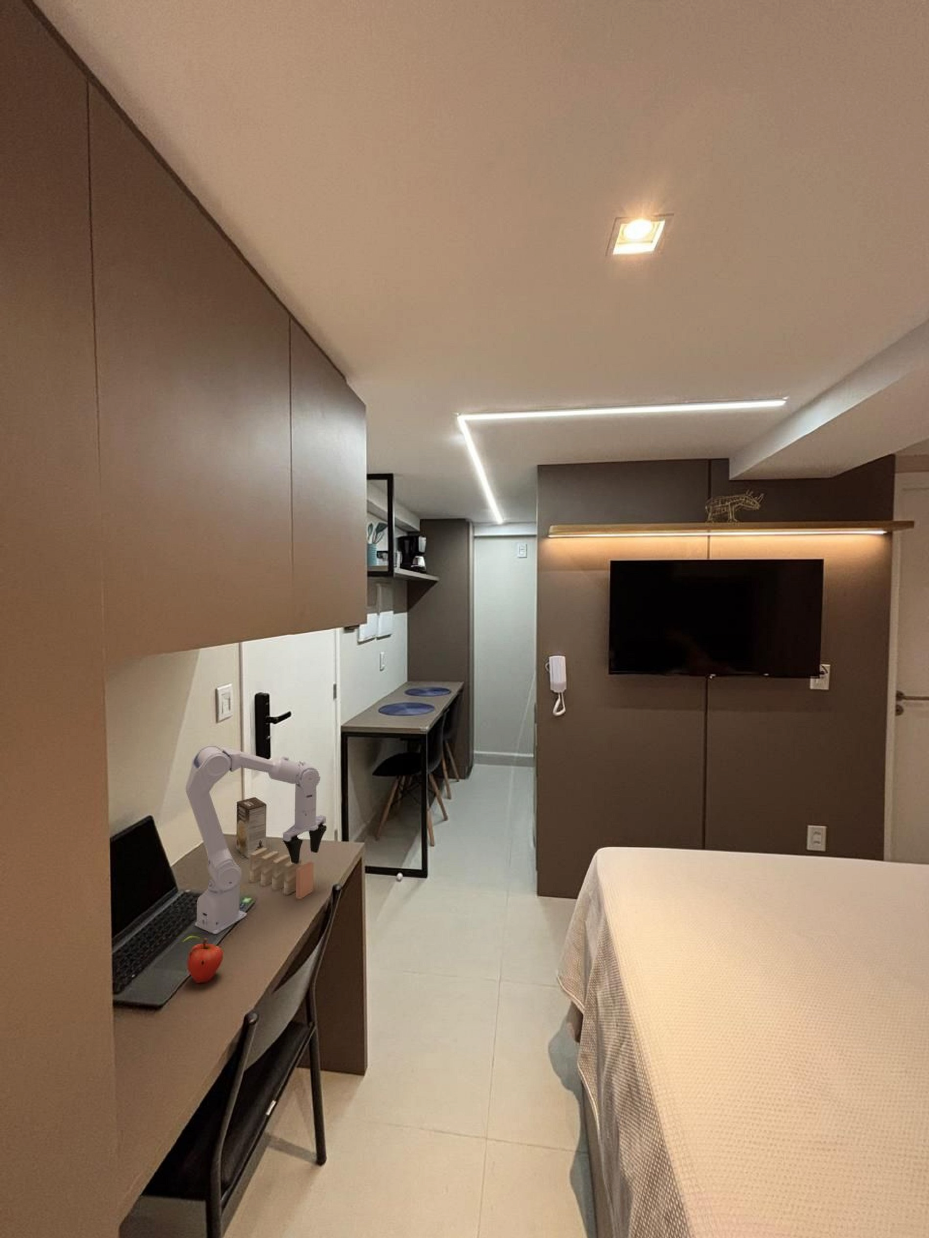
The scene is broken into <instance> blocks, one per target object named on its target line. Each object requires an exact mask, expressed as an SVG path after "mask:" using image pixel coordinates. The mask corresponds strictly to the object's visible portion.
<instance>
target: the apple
mask: <svg viewBox="0 0 929 1238" xmlns="http://www.w3.org/2000/svg"><path fill="white" fill-rule="evenodd" d="M192 938H195V939H198V940H199V941H201V942H202V943H198V944H195V945H193V947H191V950H190V951H189V954H188V958H187V963H186V965H187V966H186V967H187V971H188V973H189V974H190V976H191V977H192V979H193V981H194V982H195V983H197V984H201V983H207V982H210V980H211V979H212V978H213V976H215V973H216V972H217V971H218V969H219V968H220V967H221V965H222V961H223V957H224V955H223V954H224V953H223V950H222V948H221V946H218V945H216V944H211V943H208V942H207V941H208V938H203V939H202V938H200V937H199V936H195V935H189V936H187V937H186V938H185V939H184V940H182V941H181V943H182V942H185V941H187V940H188V939H189V940H190V939H192Z"/></svg>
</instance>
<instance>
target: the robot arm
mask: <svg viewBox="0 0 929 1238" xmlns="http://www.w3.org/2000/svg"><path fill="white" fill-rule="evenodd" d="M221 749H222V750H221ZM289 758H290V757H287V756H285V755H283V756H282V757H276V758H274V759H272V760H270V759H267V758H265V757H261V756H258V755H255V754H251V753H248V752H245V751H241V750H237V749H235V748H234V749H233V748H229V747H225V746H221V747H220V748H219V746H216V745H212V744H209V745H205V746H203V747H202V748H200V750H199V751H198V752H197V753H196V754H195V756H194V757H193V758H192V760H191V767H190V771H189V775H188V778H187V782H186V785H185V793H186V795H187V798H188V801H189V804H190V807H191V811H192V813H193V815H194V819H195V821H196V824H197V828H198V830H199V833H200V836H201V838H202V839H201V840H202V842H203V845H204V849H205V850H206V856H207V859H208V860H207V867H206V868H207V872H208V874H209V875H210V877H211V878H210V880H209V883H208V887H207V889H206V890H205V891H204V893H202V894H201V895H200V896H198V898H197V902H196V922H194V926H195V927H197V928H200V929H202V930H204V931H207V932H209V933H211V934H213V935H217V934H219V933H220V932H222V931H224V930H225V929H227V928H229V927H230V926H232V925H234V924H235V923H237V922H238V921H240V920H242V919H243V918H245V917H247V915H248V914H247V912H244V911H241V910H240V881H241V880H242V877H243V873H242V872H243V871H242V869H241V868H240V866H238V864H237V863H236V861H235V860H234V857H233V856H232V854H231V852H230V849H229V848H228V844H227V841H226V838H225V834H224V832H223V829H222V826H221V824H220V820H219V817H218V815H217V811H216V808H215V805H214V803H213V800H212V796H211V794H210V791H211V790H212V789H213V787H214V786H215V785H216V783H218V782H219V781H220V780H221V779H223V778H224V776H226V774H228V773H229V772H231V773H233V772H235V771H237V770H238V769H240V768H243V769H247V770H248V769H249V770H253V771H258V772H262V773H267V774H268V776H269V779H272V780H275V781H278V782H283V783H287V784H292V785H294V786H295V788H294V824H293V825H292V826H290V827H289V828H288V829H287V830H286V831H284V832H283V833H282V841H283V843H284V845H285V846H286V848H287V851H288V855H290V861H291V862H292V863H295V864H298V863H299V858H300V857H301V856H300V854H301V849H302V848H301V847H302V845H303V842H304V840H303V839H301V838H300V837H298V836H300V835H302V834H303V833H306V832H308V834H309V835H308V836H309V848H310V852H312V853H315V854H317V853H318V852H319V849H320V845H321V842H322V839H323V837H324V834H325V833H326V831H327V825H325V824H326V823H327V816H326V815H323V814H320V815H317V786H318V785H319V783H320V781H321V775H320V773H319V771H318V769H316V768H315V767H314V766H312V765H310V764H309V763H306V761H305V762H303V761H302V760H299V762H298V761H295V760H294V761H293V760H290V759H289ZM300 859H301V858H300Z"/></svg>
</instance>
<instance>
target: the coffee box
mask: <svg viewBox="0 0 929 1238" xmlns="http://www.w3.org/2000/svg"><path fill="white" fill-rule="evenodd" d="M267 806H268V805H267V803H265V802H264V801H262V800H260V799H259V798H257V797H256V796H254V797H249V798H245V799H242V800H239V801H236V837H235V838H236V841H235V844H236V847H235V850H237V851H238V852H239V853H240V854H241V855H243V856H244V857H245V858H247V859H250V854H251V853H253V852H255V851H257V850H259V849H261V848H267Z"/></svg>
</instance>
